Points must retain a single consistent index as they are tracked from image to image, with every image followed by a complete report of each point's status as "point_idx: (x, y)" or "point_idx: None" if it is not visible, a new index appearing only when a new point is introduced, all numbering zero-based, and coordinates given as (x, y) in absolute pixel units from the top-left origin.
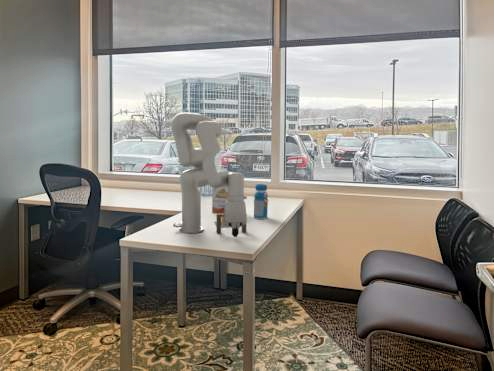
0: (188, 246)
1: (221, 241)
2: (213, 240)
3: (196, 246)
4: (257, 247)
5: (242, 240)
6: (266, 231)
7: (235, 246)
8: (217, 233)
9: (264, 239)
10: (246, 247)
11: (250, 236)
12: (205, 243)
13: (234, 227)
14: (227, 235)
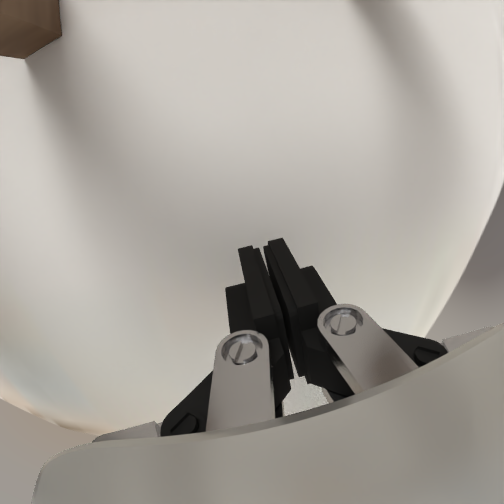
0: (22, 405)
1: (136, 335)
2: (62, 314)
3: (50, 410)
4: None
5: (334, 280)
6: (501, 10)
7: None
8: (27, 56)
9: (483, 226)
10: None
11: (420, 130)
12: (55, 375)
13: (283, 391)
14: (144, 96)
